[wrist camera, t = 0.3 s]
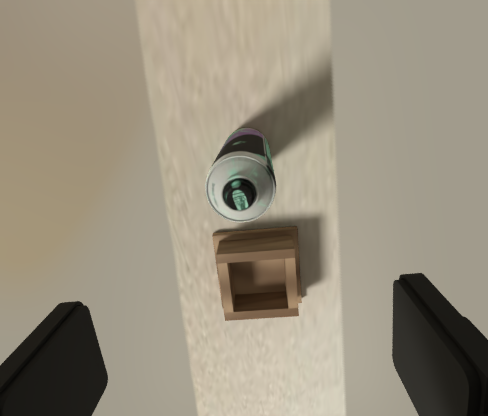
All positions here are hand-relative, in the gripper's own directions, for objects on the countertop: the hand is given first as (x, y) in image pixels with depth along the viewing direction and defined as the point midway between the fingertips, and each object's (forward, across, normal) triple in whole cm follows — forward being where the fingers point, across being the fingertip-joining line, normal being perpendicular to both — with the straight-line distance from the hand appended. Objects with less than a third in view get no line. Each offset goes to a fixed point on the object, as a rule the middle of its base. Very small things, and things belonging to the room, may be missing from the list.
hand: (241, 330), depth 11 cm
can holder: (+35, +1, +16) cm, 38 cm away
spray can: (+34, +1, 0) cm, 35 cm away
